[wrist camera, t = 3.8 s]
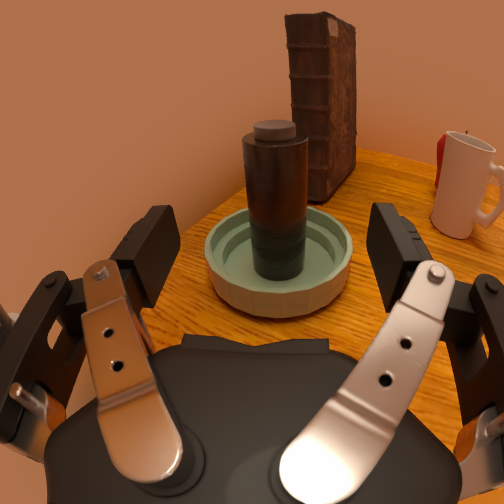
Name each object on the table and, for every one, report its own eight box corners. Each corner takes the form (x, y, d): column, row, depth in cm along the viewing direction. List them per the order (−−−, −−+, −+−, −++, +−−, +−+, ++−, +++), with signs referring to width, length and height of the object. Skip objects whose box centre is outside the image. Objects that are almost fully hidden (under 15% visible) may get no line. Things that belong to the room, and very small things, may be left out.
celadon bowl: (243, 346, 21) (238, 317, 19) (195, 252, 30) (188, 224, 28) (374, 285, 24) (382, 255, 22) (300, 219, 34) (301, 192, 32)
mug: (419, 218, 33) (436, 130, 25) (445, 208, 34) (461, 131, 27) (475, 262, 25) (508, 166, 18) (496, 246, 27) (523, 163, 19)
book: (321, 208, 36) (320, 6, 20) (274, 195, 39) (262, 11, 24) (359, 168, 46) (362, 27, 31) (322, 160, 49) (320, 26, 34)
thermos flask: (267, 288, 25) (258, 135, 17) (245, 257, 28) (230, 123, 20) (314, 270, 26) (321, 126, 18) (288, 242, 29) (286, 115, 21)
